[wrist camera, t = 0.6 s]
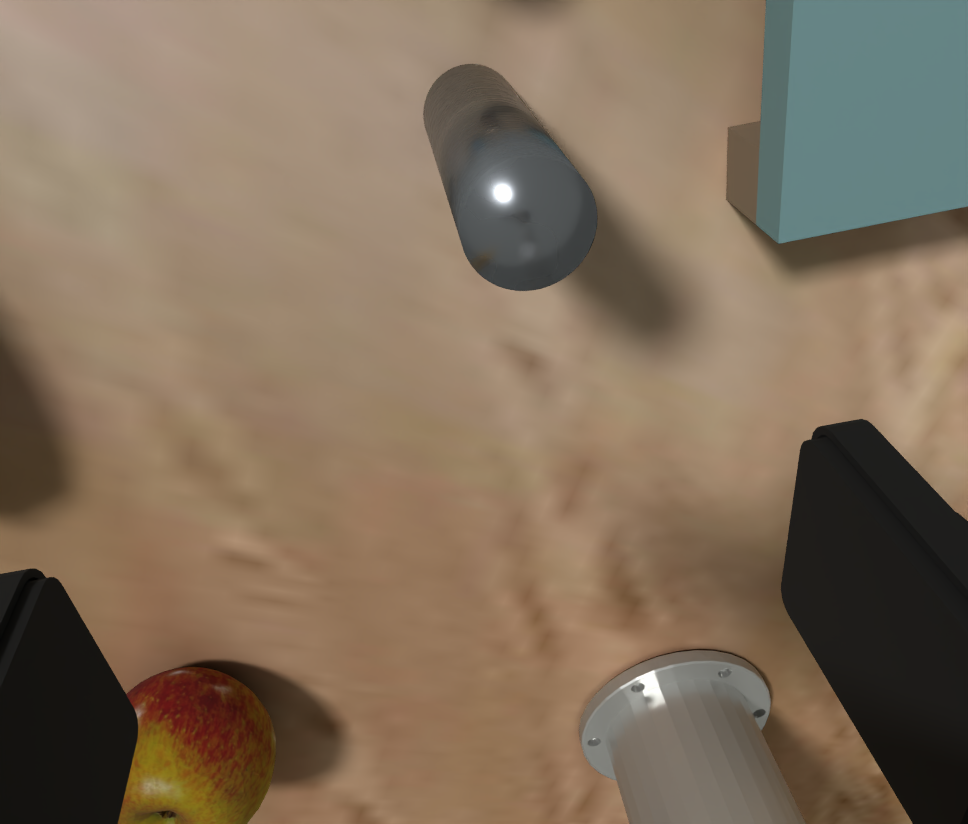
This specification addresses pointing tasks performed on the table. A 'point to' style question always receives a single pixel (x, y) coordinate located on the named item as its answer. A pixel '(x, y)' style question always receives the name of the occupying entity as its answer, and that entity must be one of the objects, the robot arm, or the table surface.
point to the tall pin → (506, 182)
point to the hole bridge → (855, 117)
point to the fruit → (198, 750)
